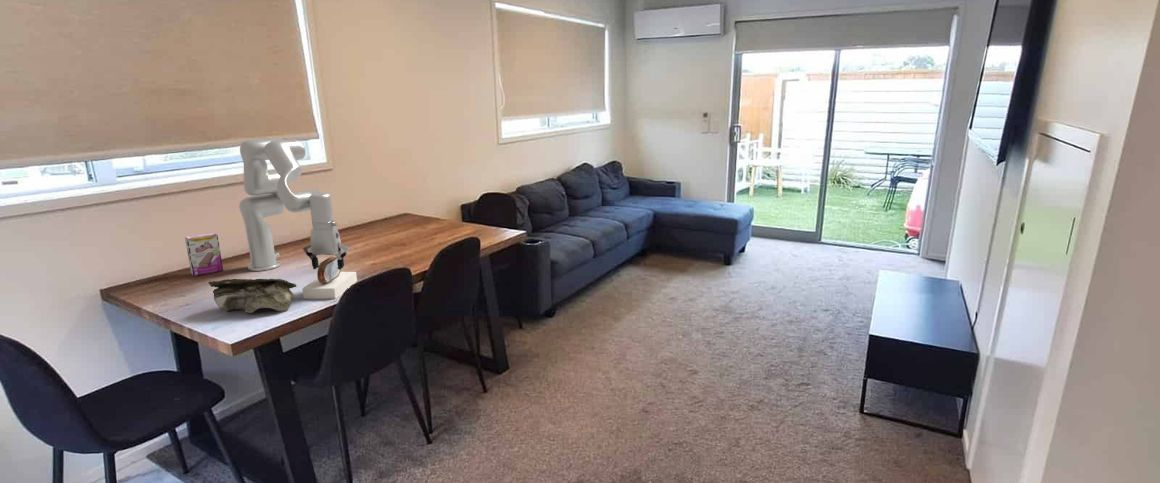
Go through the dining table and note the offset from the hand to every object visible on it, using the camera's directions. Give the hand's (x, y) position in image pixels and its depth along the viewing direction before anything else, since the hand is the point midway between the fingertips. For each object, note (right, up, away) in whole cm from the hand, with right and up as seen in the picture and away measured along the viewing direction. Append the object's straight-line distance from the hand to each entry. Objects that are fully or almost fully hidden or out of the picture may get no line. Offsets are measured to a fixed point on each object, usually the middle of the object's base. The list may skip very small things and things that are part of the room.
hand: (328, 268), depth 213 cm
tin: (+1, -5, +1) cm, 5 cm away
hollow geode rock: (-18, -14, -17) cm, 29 cm away
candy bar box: (-62, -3, +23) cm, 67 cm away
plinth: (0, -8, +2) cm, 9 cm away
